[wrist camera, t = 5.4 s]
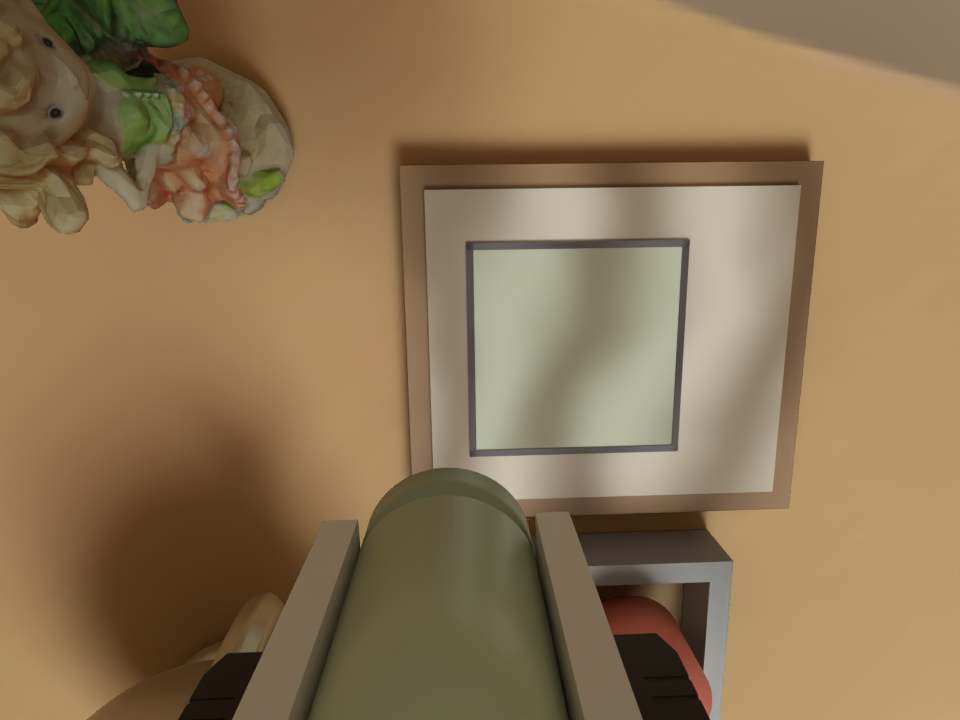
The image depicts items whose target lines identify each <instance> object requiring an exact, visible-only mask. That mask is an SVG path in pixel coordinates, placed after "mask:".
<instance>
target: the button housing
mask: <svg viewBox="0 0 960 720" xmlns="http://www.w3.org/2000/svg"><path fill="white" fill-rule="evenodd" d="M577 536H578V539H579V542H580V544H581V547H582V550H583V553H584V556H585V559H586V561H587V564H588V567H589V570H590V573H591V575H592V578H593V581H594V584H595V586H610V585H639V584H667V583H684V591H683V606H682V622H681V632H682V634H683V636H684V638H685V640H686V641H687V643H688V645H689V647H690V649H691V650H692V652H693V654H694V656H695V658H696V660H697V661H698V663H699V665H700V667H701V669H702V670H703V672H704V674H705V676H706V678H707V680H708V682H709V684H710V687H711V690H712V709H711V713H710V716H709V718H710V720H720V718H721V705H722V693H723V681H724V668H725V656H726V644H727V631H728V619H729V607H730V594H731V582H732V570H733V560H732V559H731V558H730V557H729V556H728V554H727V553H726V552H725V551H724V550H723V548H722V547H721V546H720V545H719V543H718V542H717V541H716V540H715V539H714V537H713V536H712V535H711V534H710V532H709V531H708V530H677V531H646V532H615V533H584V534H577ZM531 540H532V545H533V550H534V554H535V559H536V552H535V535H531Z"/></svg>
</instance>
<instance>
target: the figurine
mask: <svg viewBox="0 0 960 720" xmlns="http://www.w3.org/2000/svg"><path fill="white" fill-rule="evenodd" d="M188 37H189V27H188V25H187V23H186V21H185V19H184V17H183V15H182V13H181V11H180V9H179V6H178V4H177V1H176V0H0V208H1V209H2V211H3V212H4V214H5V215H6V216H7V218H8V219H9V221H10V222H11V223H12V224H13V225H15V226H17V227H19V228H29V227H31V226H32V225H34V224H36V223H37V220H38V216H39V214H40V212H42V214H43V216H44V218H45V220H46V222H47V223H48V224H49V225H50V226H51V227H52V228H53V229H54V230H56V231H57V232H59V233H63V234H69V235H70V234H73V233H77V232H80V231H81V229H82V228H83V226H84V225H85V223H86V222H87V220H88V219H89V213H88V208H87V205H86V202H85V199H84V197H83V195H82V193H81V192H80V190H79V189H78V187H77V185H92V183H93V177H94V176H98V177H99V178H100V179H101V180H102V181H103V182H104V183H105V184H106V185H107V186H108V187H110V188H111V189H112V190H113V191H114V192H116V193H117V194H118V195H119V196H120V197H121V198H122V199H124V201H125V202H126V204H127V205H128V207H129V208H130V210H132V211H134V212H136V211H140V210H143V209H144V208H145V206H146V207H148V208H152V209H157V208H160V207H161V206H162V205H163V204H165V203H166V202H167V201H168V202H173V203H174V205H175V207H176V208H177V215H178V216H180V217H181V218H182V220H183V221H184V222H185V223H191V222H192V221H196V222H213V221H231V220H233V219H235V218H237V217H239V216H241V215H244V214H247V215H250V214H253V213H255V212H256V211H258V210H260V209H261V208H262V207H263V206H264V204H265V201H266V199H272V198H273V197H275V196H276V195H277V194H278V192H279V189H280V188H281V186H282V184H283V182H284V181H285V177H286V173H287V170H288V167H289V165H290V163H291V161H292V159H293V157H294V153H293V146H292V140H291V135H290V131H289V128H288V126H287V124H286V122H285V120H284V119H283V117H282V115H281V113H280V112H279V111H278V109H277V107H276V106H275V104H274V103H273V101H272V100H271V98H270V96H269V95H268V94H267V92H266V91H265V90H264V89H263V88H261V87H260V86H259V85H257V84H256V83H254V82H253V81H251V80H249V79H247V78H244V77H242V76H240V75H238V74H236V73H234V72H232V71H230V70H228V69H226V68H224V67H222V66H220V65H218V64H216V63H214V62H212V61H210V60H208V59H205V58H200V57H193V58H187V59H180V60H173V61H171V62H169V61H166V60H161V59H157V58H155V57H154V56H152V55H151V54H150V53H149V52H148V49H147V47H159V48H171V47H174V46H177V45H179V44H181V43H183V42H185V41H187V40H188ZM122 160H123V161H125V165H126V168H127V171H126V170H125V169H124V168H123V165H122ZM127 172H128V173H127Z"/></svg>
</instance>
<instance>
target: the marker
mask: <svg viewBox="0 0 960 720" xmlns="http://www.w3.org/2000/svg"><path fill="white" fill-rule="evenodd" d="M308 720H569V717H568V712H567V707H566V702H565V698H564V693H563V688H562V683H561V679H560V674H559V669H558V664H557V659H556V655H555V650H554V645H553V640H552V636H551V631H550V626H549V621H548V616H547V612H546V607H545V602H544V597H543V593H542V588H541V583H540V578H539V573H538V569H537V564H536V559H535V554H534V550H533V545H532V540H531V535H530V531H529V526H528V522H527V519H526V517H525V514H524V512H523V510H522V508H521V507H520V505H519V503H518V502H517V501H516V499H515V498H514V497H513V495H512V494H511V493H510V492H509V491H508V490H507V489H506V488H504V487H503V486H502V485H500V484H499V483H498V482H496V481H495V480H493V479H491V478H489V477H488V476H485V475H483V474H480V473H478V472H475V471H471V470H467V469H461V468H435V469H430V470H426V471H422V472H419V473H417V474H414V475H412V476H410V477H408V478H406V479H404V480H402V481H401V482H399V483H398V484H396V485H395V486H394V487H393V488H391V489H390V490H389V491H388V492H387V493H386V494H385V495H384V496H383V498H382V499H381V500H380V501H379V503H378V505H377V506H376V508H375V509H374V511H373V514H372V516H371V518H370V521H369V524H368V527H367V531H366V534H365V537H364V540H363V543H362V547H361V550H360V553H359V556H358V559H357V563H356V566H355V569H354V572H353V576H352V579H351V582H350V585H349V588H348V592H347V595H346V598H345V601H344V604H343V608H342V611H341V614H340V617H339V620H338V624H337V627H336V630H335V633H334V637H333V640H332V643H331V646H330V649H329V653H328V656H327V659H326V662H325V665H324V669H323V672H322V675H321V678H320V682H319V685H318V688H317V691H316V694H315V698H314V701H313V704H312V707H311V710H310V714H309V717H308Z"/></svg>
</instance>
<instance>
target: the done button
mask: <svg viewBox="0 0 960 720" xmlns="http://www.w3.org/2000/svg"><path fill="white" fill-rule="evenodd" d="M601 604H602V606H603V609H604V612H605V615H606V618H607V620H608V623H609V626H610V629H611V632H612V634H613V635H619V634H643V633H657V634H658V635H659V636H660V637H661V638H662V639H663V640H664V641H666V642H667V643H668V644H669V645H670V646H671V647H672V648H673V649H674V650H675V651H677V653H678V655H679V657H680V659H681V661H682V663H683V665H684V667H685V669H686V671H687V673H688V675H689V680H691V681H692V683H693V685H694V687H695V689H696V691H697V693H698V698H699V700H701V701H702V704H703V706H704V708H705V710H706V712H707V714H708V716H710V713H711V709H712V690H711V687H710V684H709V682H708V680H707V678H706V676H705V674H704V672H703V670H702V669H701V667H700V665H699V663H698V661H697V660H696V658H695V656H694V654H693V652H692V650H691V649H690V647H689V645H688V643H687V641H686V640H685V638H684V636H683V634H682V632H681V631H680V629H679V627H678V625H677V623H676V622H675V620H674V618H673V616H672V615H671V614H670V612H669V611H668V610H667V609H666V608H665V607H664V606H662V605H661V604H660V603H658V602H656V601H654V600H652V599H649V598H646V597H642V596H634V595H628V596H620V597H615V598H612V599H609V600H607V601H605V602H603V603H601Z"/></svg>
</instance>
